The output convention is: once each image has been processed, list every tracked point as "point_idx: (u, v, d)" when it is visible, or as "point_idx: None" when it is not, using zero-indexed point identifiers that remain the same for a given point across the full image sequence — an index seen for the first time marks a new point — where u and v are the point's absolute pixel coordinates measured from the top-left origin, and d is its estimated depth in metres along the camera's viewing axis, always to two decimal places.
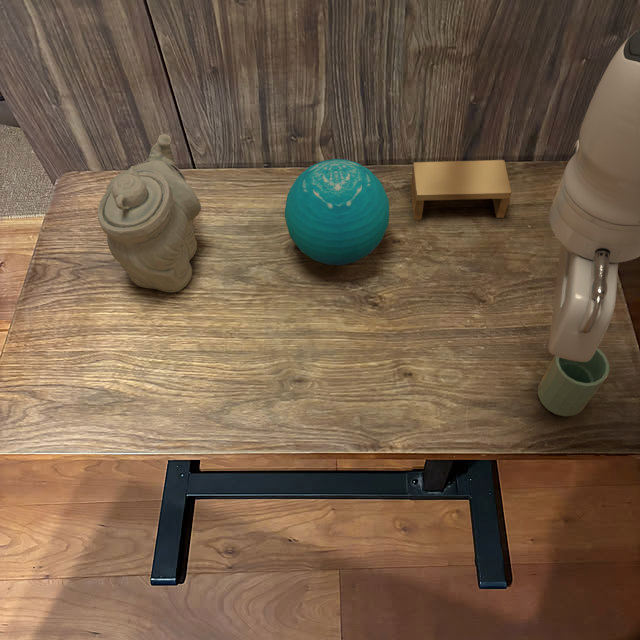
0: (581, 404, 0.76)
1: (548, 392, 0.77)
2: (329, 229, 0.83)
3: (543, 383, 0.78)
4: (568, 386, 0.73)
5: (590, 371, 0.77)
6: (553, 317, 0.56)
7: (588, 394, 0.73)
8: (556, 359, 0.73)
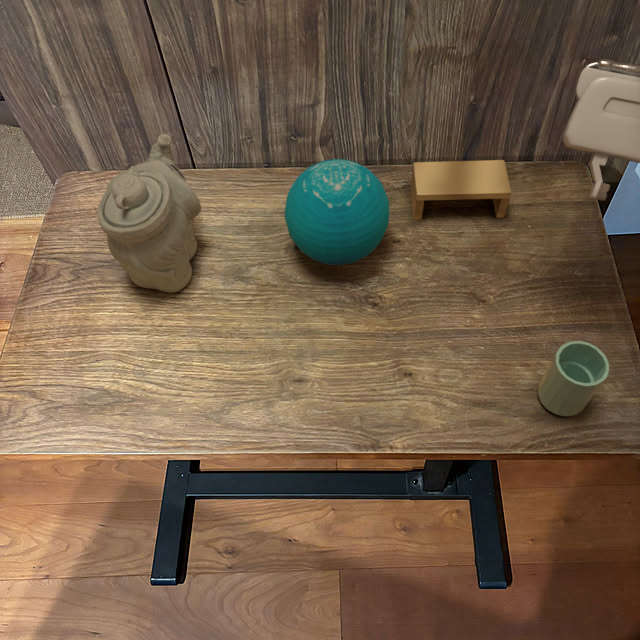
0: (581, 404, 0.76)
1: (548, 392, 0.77)
2: (329, 229, 0.83)
3: (543, 383, 0.78)
4: (568, 386, 0.73)
5: (590, 371, 0.77)
6: None
7: (588, 394, 0.73)
8: (556, 359, 0.73)
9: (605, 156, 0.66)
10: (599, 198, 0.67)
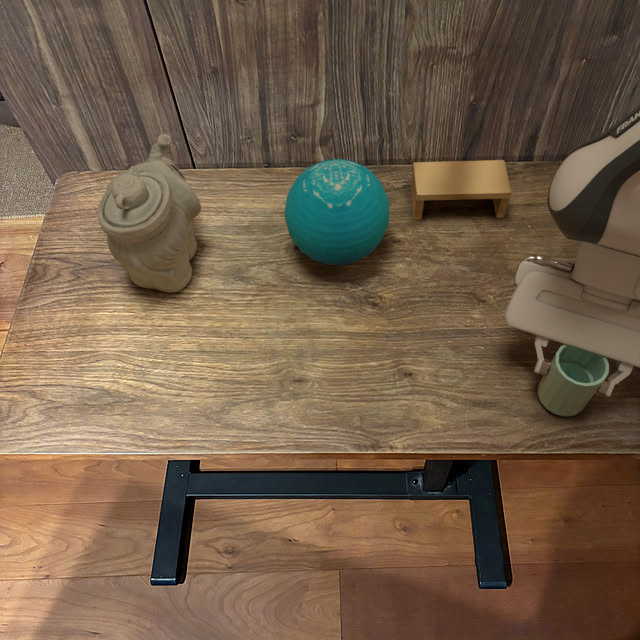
0: (581, 404, 0.76)
1: (548, 392, 0.77)
2: (329, 229, 0.83)
3: (543, 383, 0.78)
4: (568, 386, 0.73)
5: (590, 371, 0.77)
6: None
7: (588, 394, 0.73)
8: (556, 359, 0.73)
9: (546, 339, 0.75)
10: (541, 373, 0.76)
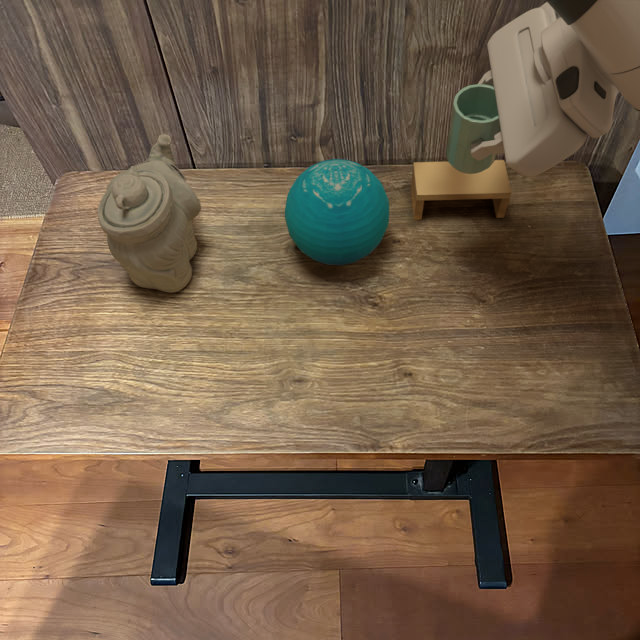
0: (455, 148, 0.75)
1: None
2: (329, 229, 0.83)
3: None
4: None
5: None
6: None
7: (458, 132, 0.72)
8: (472, 85, 0.72)
9: (491, 75, 0.73)
10: None
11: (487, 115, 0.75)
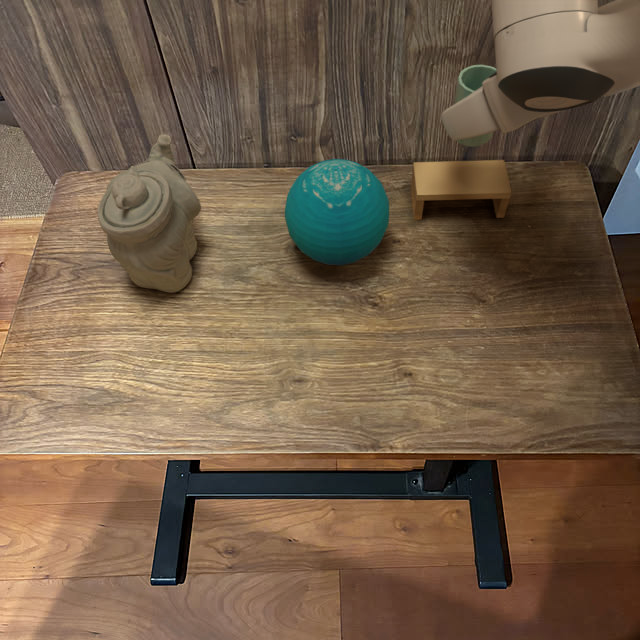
0: None
1: None
2: (329, 229, 0.83)
3: None
4: None
5: None
6: None
7: None
8: (493, 67, 0.82)
9: None
10: None
11: None
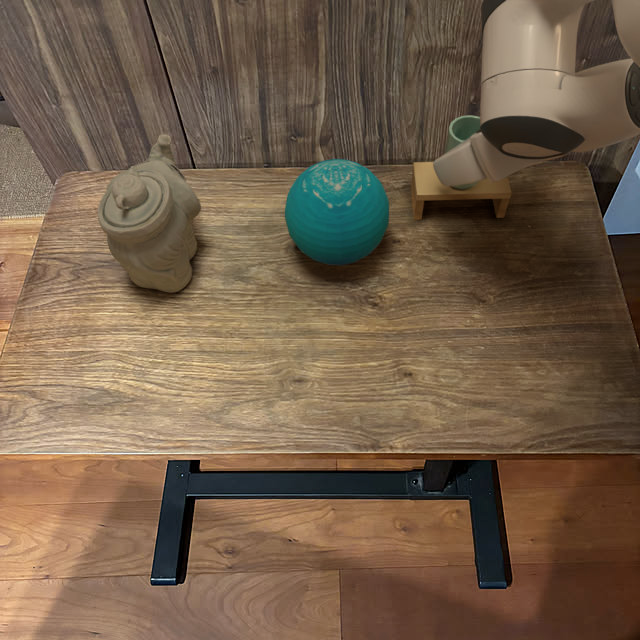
0: None
1: None
2: (329, 229, 0.83)
3: None
4: None
5: None
6: None
7: None
8: None
9: None
10: None
11: None
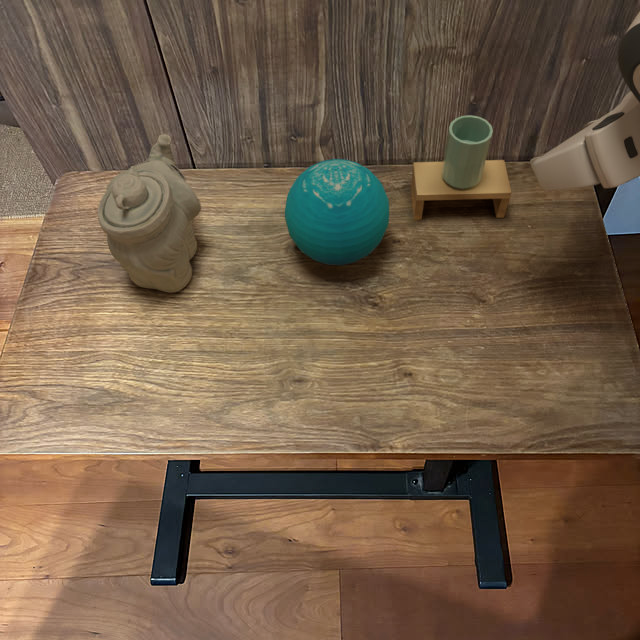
0: (444, 155, 0.92)
1: None
2: (329, 229, 0.83)
3: None
4: None
5: None
6: None
7: None
8: (481, 118, 0.89)
9: None
10: (583, 126, 0.81)
11: None
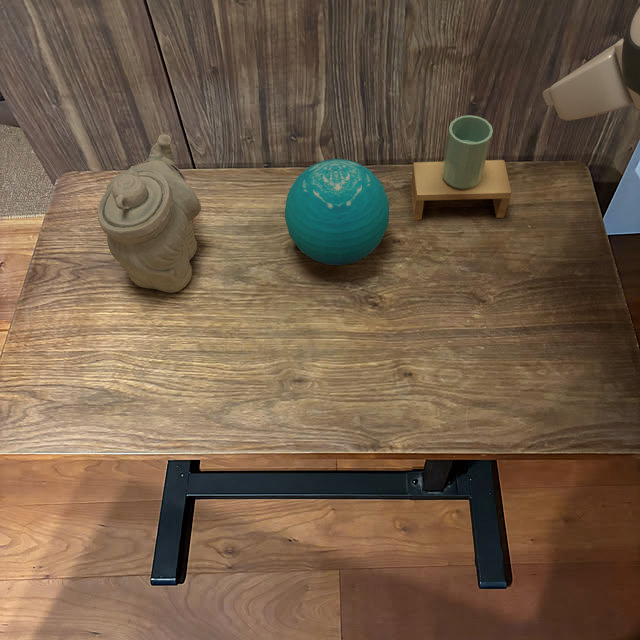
0: (444, 155, 0.92)
1: None
2: (329, 229, 0.83)
3: None
4: None
5: None
6: None
7: None
8: (481, 118, 0.89)
9: None
10: (600, 54, 0.71)
11: None
